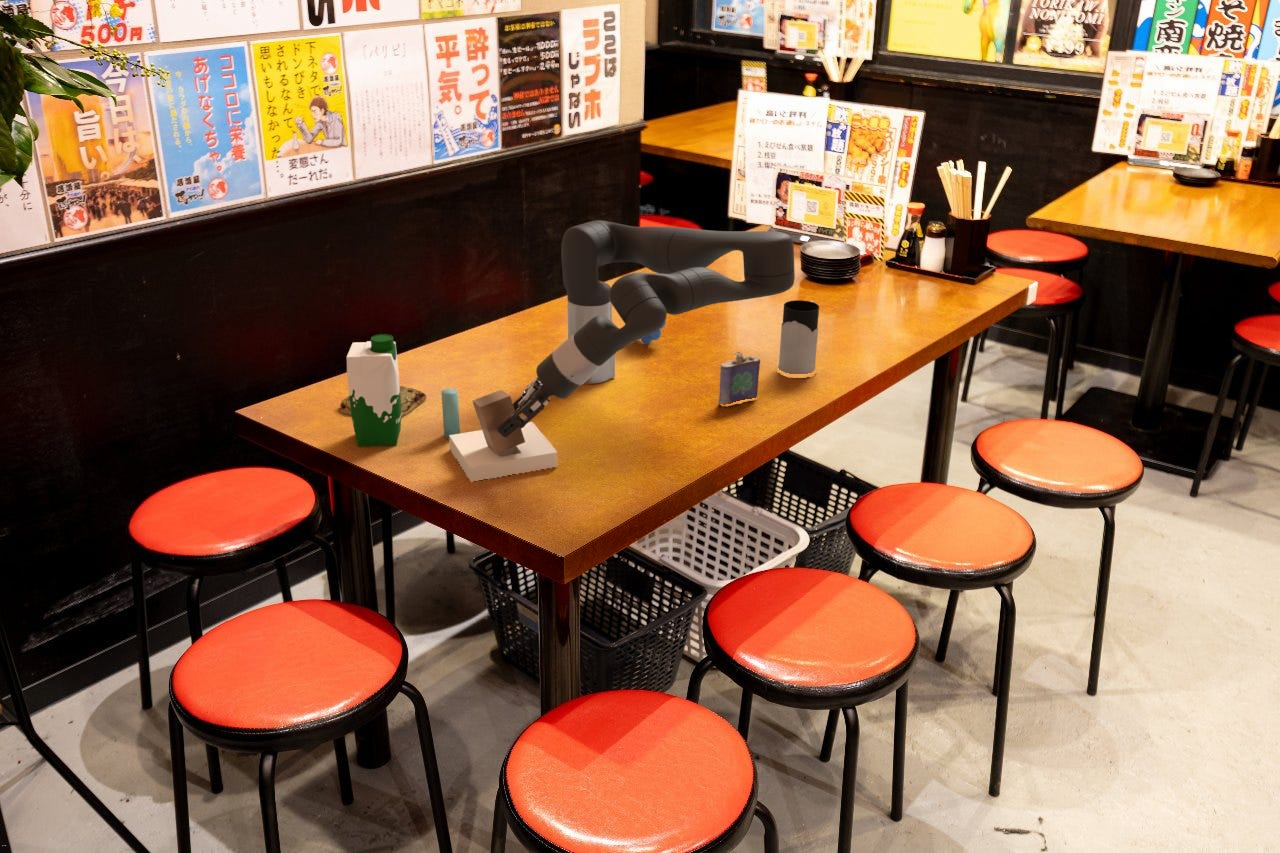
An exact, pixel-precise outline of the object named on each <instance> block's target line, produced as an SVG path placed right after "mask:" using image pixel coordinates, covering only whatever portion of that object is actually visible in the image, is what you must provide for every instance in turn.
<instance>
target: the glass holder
mask: <svg viewBox="0 0 1280 853" xmlns="http://www.w3.org/2000/svg"><path fill="white" fill-rule="evenodd" d="M782 312H783V313H782V323H781V329H780V342H779V343H780V344H779V355H778V356H779V357H778V358H779V360H778V365H777V367H778V368H779V370H781V371H783V372H785V373H789V374H808V373H812V372H813V371H815V369H816V359H817V358H816V357H817V348H818V347H817V346H818V338H819V337H818V335H819V326H818V325H819V316H820V315H819V314H820V306H819V304H817V303H816V302H815V301H814V300H810V301H809V300H803V299H802V300H801V299H799V300H798V299H795V300H788V301H786V302H784V304H783V311H782Z"/></svg>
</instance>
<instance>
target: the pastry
mask: <svg viewBox="0 0 1280 853" xmlns="http://www.w3.org/2000/svg"><path fill="white" fill-rule="evenodd" d="M400 395H401V409H402V414H401V419H403V418H404V416H405V417H407V416H409V414H411V413H412V412H413V411H414V410H416V409H417V407H419V406H420V404H421V403H422V404H423V402H424V401H425V402H426V400H427V395H426V393H424V392H422V391H421V390H418V389H416V388H413V387H407V386H402V385H400ZM425 402H424V403H425ZM422 404H421V405H422ZM418 405H419V406H418ZM410 412H411V413H410ZM339 413H341V414H345V415H348V414H349V416H351V407H350V397H349V395H348V396H346V397H345V398H343V399H342V400H341V403H340V409H339ZM406 415H407V416H406ZM402 417H403V418H402Z"/></svg>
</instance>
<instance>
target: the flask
mask: <svg viewBox="0 0 1280 853" xmlns="http://www.w3.org/2000/svg"><path fill="white" fill-rule="evenodd" d="M734 355H736V357H735V359H734V360H731V361H726V362H724V363H722V364H721V365H720V375H719V395H718V405H719V404H723V405H726V404H731V403H733V402H736V401H740V400H745V399H752V398H756V397H757V398H758V390H759V388H758V387H759V375H760V367H761V366H760V365H761V359H760V358H759V357H756V356H751V355H750V356H747V357H744V355H743V352H741V351H736V352H735V353H734Z"/></svg>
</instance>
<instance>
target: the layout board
mask: <svg viewBox="0 0 1280 853" xmlns="http://www.w3.org/2000/svg"><path fill="white" fill-rule="evenodd" d="M521 430H522V433H523V436H524V439H525V443H522V444H520V445H517V446H515V447H512V448H510V449H507V450H505V451H502V452H500V453H497V454H496V453H495V452H493V451H492V450H491V449H490V448H489V447H488V446H487V443H486V440H485V437H484V434H483V431H482V429H480V430H473V431H467V432H460V434H454V435H449V439H448V440H449V450H451V451H450V453H451V454H452V455H453V457H454V458H455V460H456V459H457V460H456V461H458V462H459V463H458V462H457V463H458V465H459V464H460V465H459V467H460V468H461V467H462V468H461V469H462V471H463V470H464V471H463V472H465V473H466V474H465V473H464V474H465V476H466V475H467V476H468V477H467V476H466V477H467V478H469V479H470V480H469V479H468V480H469V482H470V481H477V482H479V481H478V480H483V479H488V480H492V478H494V479H497V477H499V478H503V477H502V476H505V477H507V476H506V475H511V476H513V475H512V474H516V475H520V474H519V473H522V474H526V473H525V472H527V473H531V472H530V471H533V472H536V471H535V470H538V471H541V470H540V469H544V470H547V469H546V468H550V469H553V468H552V467H555V468H557V467H556V466H559V465H558V464H559V463H558V459H559V458H558V451H557V450H556V449H555V447H554V446H553V445H552V443H551V442H550V440H548V439H547V437H545V435H544V434H543V433H542V431H540V430H539V428H538V427H537V426H536V424H535V423H534V422H533V421H529V422H528V423H527V424H526V425H525V426H524V427H523V428H521ZM490 478H491V479H490ZM483 481H484V480H483Z"/></svg>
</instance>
